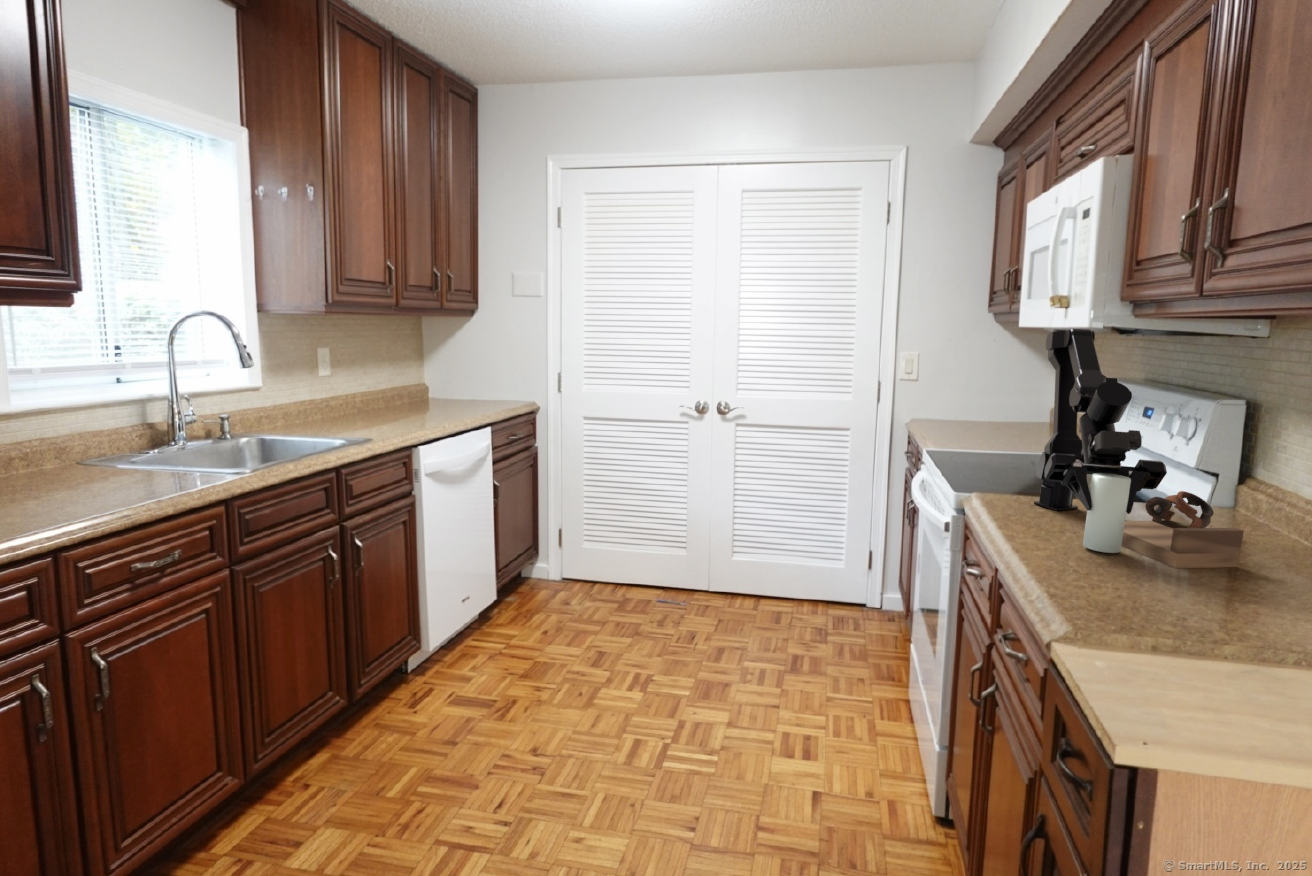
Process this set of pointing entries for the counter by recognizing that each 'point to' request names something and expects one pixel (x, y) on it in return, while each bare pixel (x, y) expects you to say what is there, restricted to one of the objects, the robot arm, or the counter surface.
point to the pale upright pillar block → (1106, 512)
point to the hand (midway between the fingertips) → (1109, 510)
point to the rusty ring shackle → (1180, 508)
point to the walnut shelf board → (1162, 544)
